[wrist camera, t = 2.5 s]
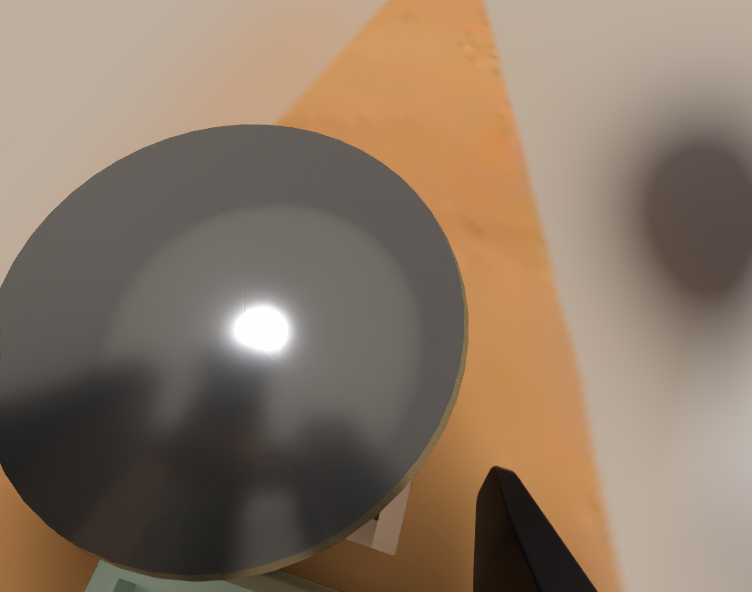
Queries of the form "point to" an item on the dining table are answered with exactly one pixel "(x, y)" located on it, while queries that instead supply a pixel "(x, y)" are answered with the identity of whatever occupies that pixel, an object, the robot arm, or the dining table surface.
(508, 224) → the dining table surface
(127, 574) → the tray
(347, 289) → the grey cylindrical piece
